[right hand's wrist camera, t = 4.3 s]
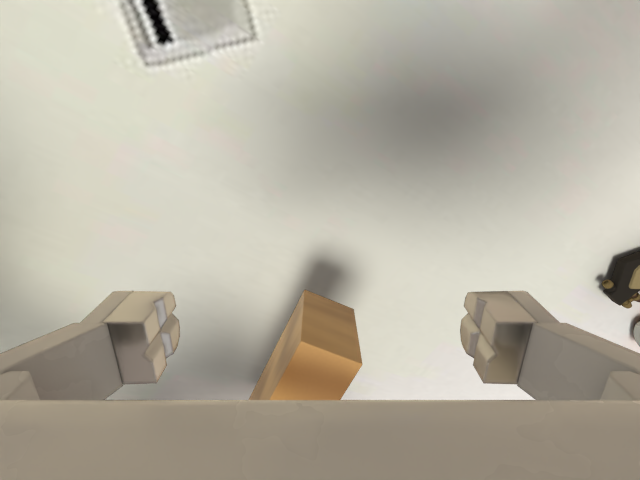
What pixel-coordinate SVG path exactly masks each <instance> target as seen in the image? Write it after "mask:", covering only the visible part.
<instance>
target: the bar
mask: <svg viewBox="0 0 640 480" xmlns="http://www.w3.org/2000/svg"><path fill="white" fill-rule="evenodd" d="M361 366H362V359H361V353H360V346H359V340H358V334H357V327H356V321H355V315H354V309H352V308H349V307H347V306H344V305H342V304H339V303H337V302H334V301H332V300H330V299H327V298H325V297H322V296H320V295H317V294H315V293H312V292H310V291H307V290H304V292H303V294H302V296H301V298H300V300H299V302H298V304H297V305H296V307H295V309H294V311H293V313H292V315H291V317H290V319H289V321H288V323H287V325H286V327H285V329H284V331H283V333H282V335H281V337H280V339H279V341H278V343H277V345H276V347H275V349H274V351H273V353H272V355H271V357H270V359H269V361H268V363H267V365H266V367H265V369H264V371H263V372H262V374H261V376H260V378H259V380H258V382H257V384H256V386H255V388H254V390H253V392H252V394H251V396H250V398H249V400H340V399H341V398H342V396H343V394H344V393H345V391H346V390H347V388H348V387H349V385H350V383H351V382H352V380H353V379H354V377H355V375H356V374H357V372H358V371H359V369H360V367H361Z"/></svg>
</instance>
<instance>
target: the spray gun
mask: <svg viewBox="0 0 640 480" xmlns="http://www.w3.org/2000/svg"><path fill="white" fill-rule="evenodd" d="M602 285H603V287H604V288H606V289H605V290H604V291H603V292H604V293H605V294H606V295H607V296H608V297H609V298H610V299H611V300H612V301H613V302H615V303H616V304H618V305H622V306H623V307H625V308H631V307H632V304H631V302H632V301H637V302H640V294H639V293H637V292H638V291H640V251H639V252H636V253H634V254H631V255H628V256H625V257H623V258H620V259H618V260H617V263H616V266H615V269H614V272H613V275H612V278H611V281H610V280H604V281H603V282H602ZM633 333H634V338H635V340H636V342H637V344H638V345H639V346H640V321H639V322H638V323H636V324H635V327H634V331H633Z"/></svg>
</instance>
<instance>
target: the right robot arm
mask: <svg viewBox="0 0 640 480" xmlns="http://www.w3.org/2000/svg"><path fill="white" fill-rule="evenodd" d="M175 307H176V303H175V298H174V295H173V294H172V293H171V292H157V291H115V292H112V293H111V294H110V295H109V296H108V297H107V298H106V299H105V300H104V301H103V302H102V303H101V304H100V305H98V306H97V307H96V308H95V309H94V310H93V311H92V312H91V313H90V314H89V315H88V316H87V317H86V318H85V319H84V320H83V321H81V322H80V323H73V324H70V325H68V326H65V327H63V328H61V329H58V330H56V331H53V332H51V333H49V334H46V335H44V336H41V337H39V338H37V339H34V340H32V341H29V342H27V343H25V344H22V345H20V346H17V347H15V348H12V349H10V350H8V351H5V352H3V353H0V480H640V354H639V353H637V352H635V351H632V350H630V349H627V348H625V347H623V346H620V345H618V344H615V343H613V342H611V341H608V340H606V339H603V338H601V337H599V336H596V335H594V334H591V333H589V332H587V331H584V330H582V329H579V328H577V327H575V326H572V325H570V324H567V323H560V322H559V321H558V320H556V319H555V318H554V317H553V316H552V315H551V314H550V313H549V312H548V311H547V310H546V309H545V308H544V307H543V306H542V305H541V304H540V303H538V302H537V301H536V300H535V299H534V298H533V297H532V296H531V295H530V294H529V293H528V292H525V291H491V292H468V293H467V295H466V298H465V302H464V307H465V309H466V310H467V312H468V314H467V315H466V316H465V317H464V318H463V319H462V320H461V327H460V335H461V342H462V345H463V348H464V350H465V351H466V353H467V354H468V355H470V356H471V357H473V358H474V363H473V366H474V368H475V369H476V371H477V373H478V374H479V376H480V378H481V380H482V381H483V383H492V384H518V385H517V386H518V387H520V388H521V389H522V390H524V391H525V392H526V393H528V394H529V395H530V396H532V397H533V398H534V399H536V400H105V399H106V398H107V397H109V396H110V395H111V394H113V393H114V392H115V391H117V390H118V389H119V388H120V387H122V386H123V385H122V384H147V383H157V381H158V380H159V378H160V376H161V374H162V373H163V371H164V369H165V368H166V366H167V363H166V358H167V357H169V356H170V355H172V354H173V353H174V351H175V350H176V348H177V345H178V341H179V337H180V326H179V320H178V319H177V318H176V317H175V316H174V315H173V314H172V312H173V310H174V309H175Z"/></svg>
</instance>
